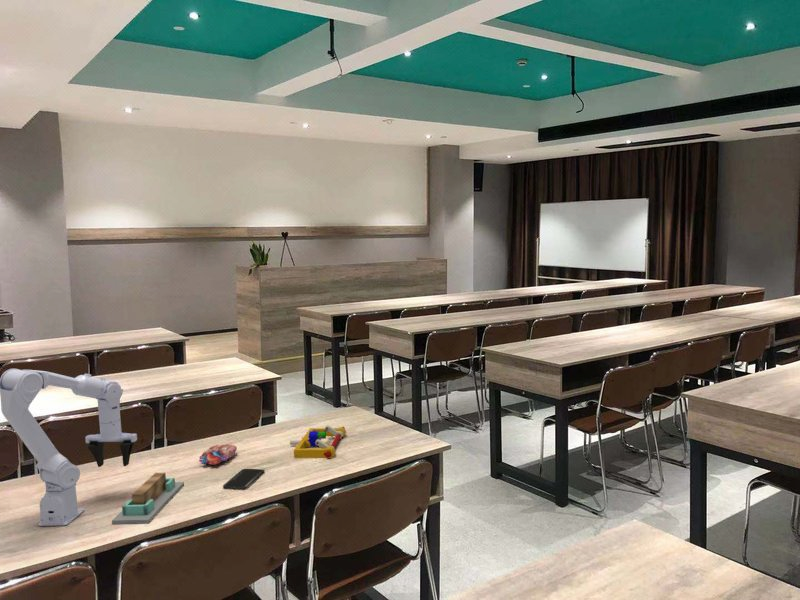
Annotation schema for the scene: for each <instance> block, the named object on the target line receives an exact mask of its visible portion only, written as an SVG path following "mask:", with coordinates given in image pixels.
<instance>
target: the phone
mask: <svg viewBox="0 0 800 600" xmlns="http://www.w3.org/2000/svg"><path fill="white" fill-rule="evenodd" d="M264 474H265V469H263V468H262V469H261V468H260V469H259V468H257V469H256V468H242V469H241V470H240V471H239V472H237V473H236V474H235V475H234V476H232V477H231V478H229V480H228V481H226V482H225V483H224V484H223V485H222V489H223V490H231V489H233V490H235V491H245V490H246V491H247V489H249V488H250V487H251V486H252V485H253V484H254V483H256V481H257V480H259V479H260V478H261V476H263V475H264Z"/></svg>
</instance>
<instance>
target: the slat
mask: <svg viewBox="0 0 800 600" xmlns="http://www.w3.org/2000/svg"><path fill="white" fill-rule="evenodd" d="M166 478H167V475H166V472H155V473H154V474H153V475H151V476H150V477H149V478H148V479H147V480H146V481H144V483H142V485H140V487H139V488H137V489H136V490H135V491H134V492H133V493H132V494H131V500H132V504H133V505H145V504H146V503H147V502H148V501H149V500H150V499H154V501H155V500H156V499H157V498H158V497H159V496H160V495H161V494H162V493H163V492H164V491H165V490H166Z"/></svg>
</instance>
